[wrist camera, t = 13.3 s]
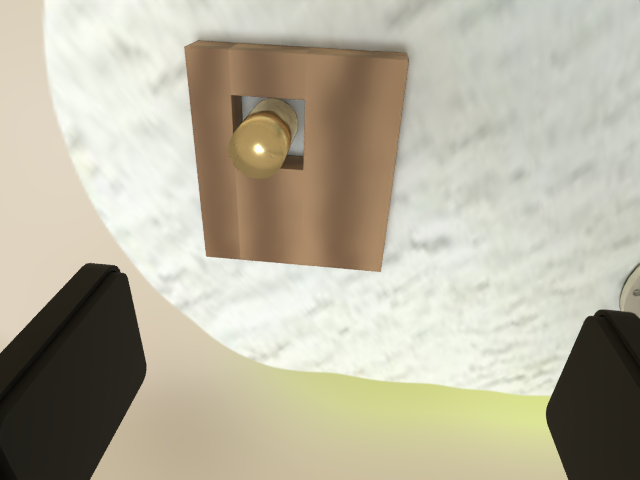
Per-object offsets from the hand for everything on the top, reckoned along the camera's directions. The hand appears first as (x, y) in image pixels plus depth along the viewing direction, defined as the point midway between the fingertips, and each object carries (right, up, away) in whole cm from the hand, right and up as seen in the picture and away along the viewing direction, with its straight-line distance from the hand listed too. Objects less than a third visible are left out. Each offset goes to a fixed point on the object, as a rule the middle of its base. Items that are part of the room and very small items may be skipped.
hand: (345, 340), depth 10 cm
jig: (-2, +9, +30) cm, 32 cm away
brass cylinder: (-4, +12, +29) cm, 32 cm away
